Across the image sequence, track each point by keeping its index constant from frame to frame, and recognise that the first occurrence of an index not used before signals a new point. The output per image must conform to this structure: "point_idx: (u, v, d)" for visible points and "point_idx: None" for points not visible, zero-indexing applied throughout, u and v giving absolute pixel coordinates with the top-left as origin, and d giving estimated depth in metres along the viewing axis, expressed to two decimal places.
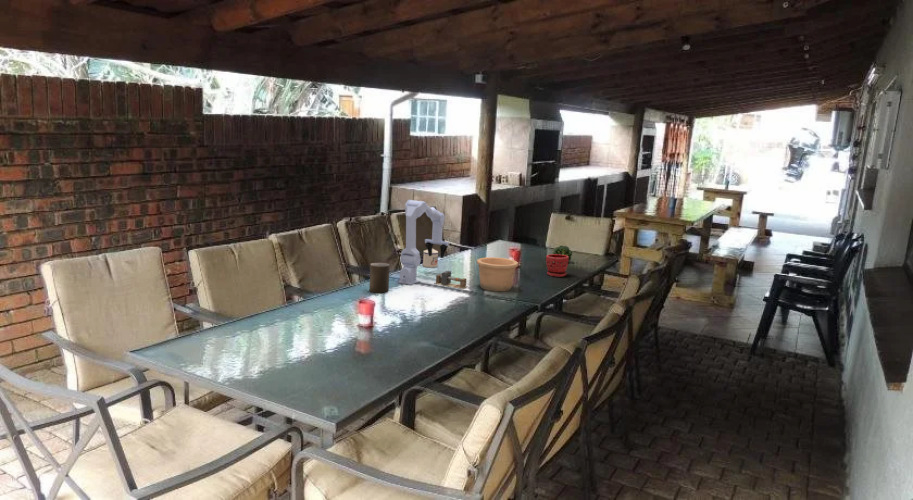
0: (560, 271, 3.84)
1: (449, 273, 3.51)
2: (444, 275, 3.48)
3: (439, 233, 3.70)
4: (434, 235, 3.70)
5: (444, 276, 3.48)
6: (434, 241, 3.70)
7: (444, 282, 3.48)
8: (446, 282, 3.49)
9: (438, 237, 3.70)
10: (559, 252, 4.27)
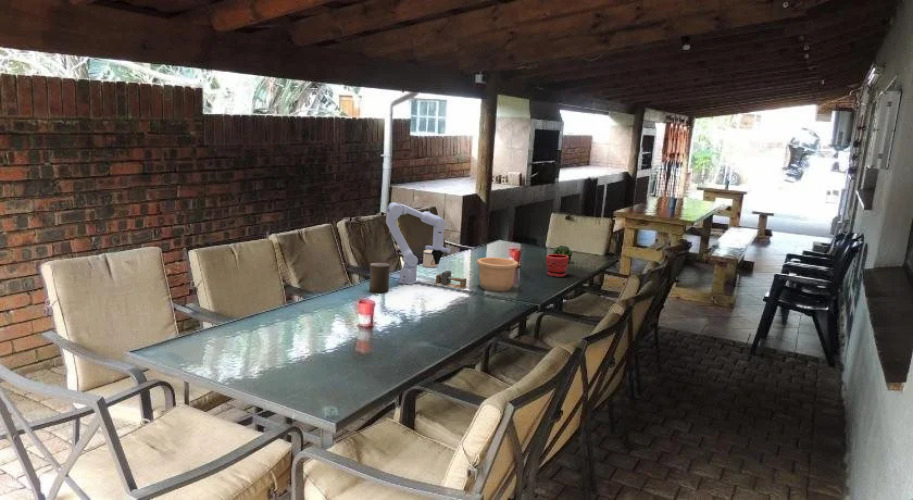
0: (560, 271, 3.84)
1: (449, 273, 3.51)
2: (444, 275, 3.48)
3: (436, 239, 3.50)
4: (435, 241, 3.51)
5: (444, 276, 3.48)
6: (435, 248, 3.51)
7: (444, 282, 3.48)
8: (446, 282, 3.49)
9: (439, 243, 3.50)
10: (559, 252, 4.26)
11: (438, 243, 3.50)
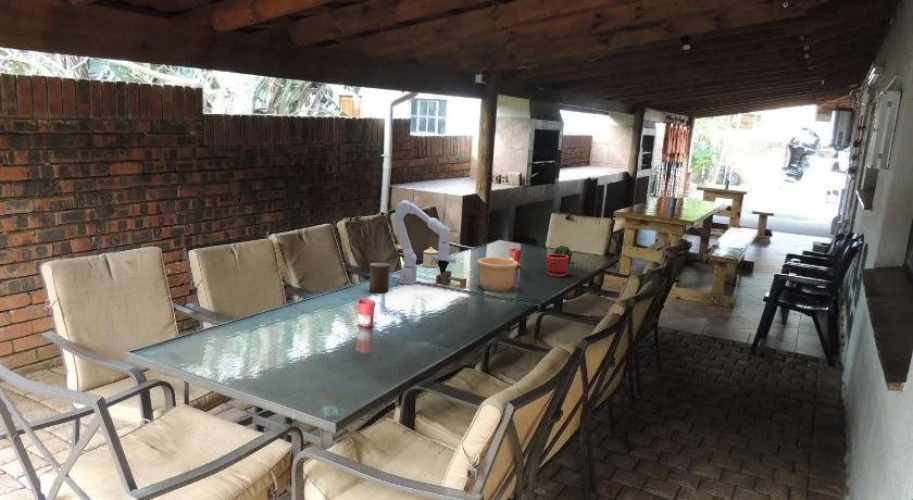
0: (560, 271, 3.84)
1: (449, 273, 3.51)
2: (444, 275, 3.48)
3: (440, 249, 3.47)
4: (440, 252, 3.47)
5: (444, 276, 3.48)
6: (440, 258, 3.48)
7: (444, 282, 3.48)
8: (446, 282, 3.49)
9: (445, 254, 3.47)
10: (559, 252, 4.26)
11: (444, 253, 3.47)
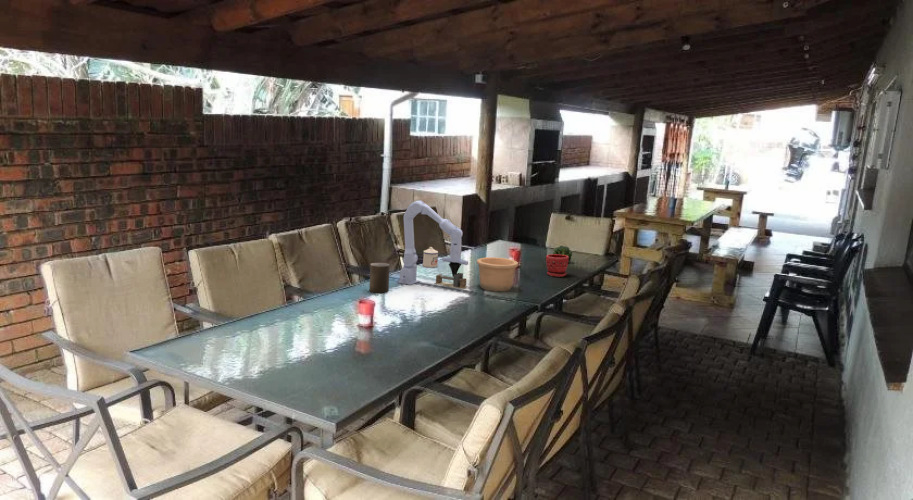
0: (560, 271, 3.84)
1: (461, 275, 3.48)
2: (456, 277, 3.44)
3: (452, 251, 3.44)
4: (452, 253, 3.44)
5: (456, 278, 3.45)
6: (452, 260, 3.44)
7: (456, 284, 3.45)
8: (458, 284, 3.46)
9: (457, 256, 3.44)
10: (559, 252, 4.26)
11: (456, 255, 3.44)
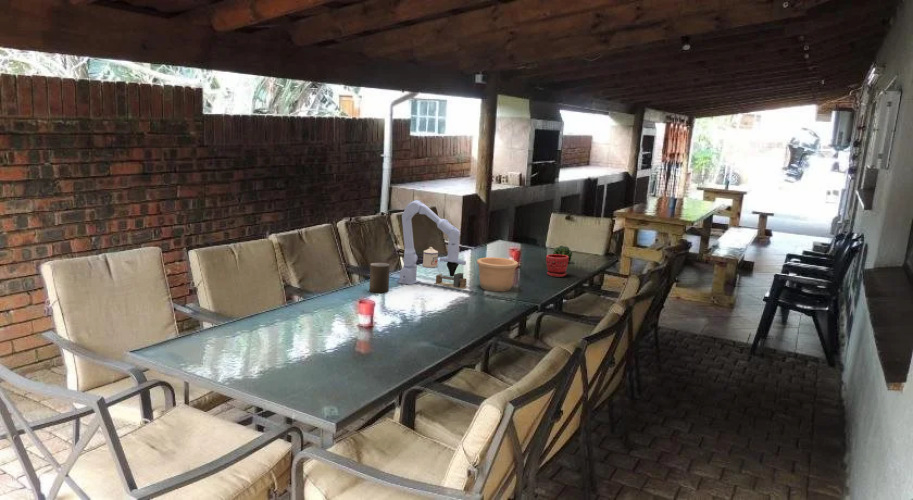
0: (560, 271, 3.84)
1: (461, 275, 3.48)
2: (456, 277, 3.44)
3: (449, 251, 3.45)
4: (450, 253, 3.45)
5: (456, 278, 3.44)
6: (450, 260, 3.45)
7: (456, 284, 3.45)
8: (458, 284, 3.46)
9: (454, 255, 3.44)
10: (559, 252, 4.25)
11: (453, 255, 3.44)
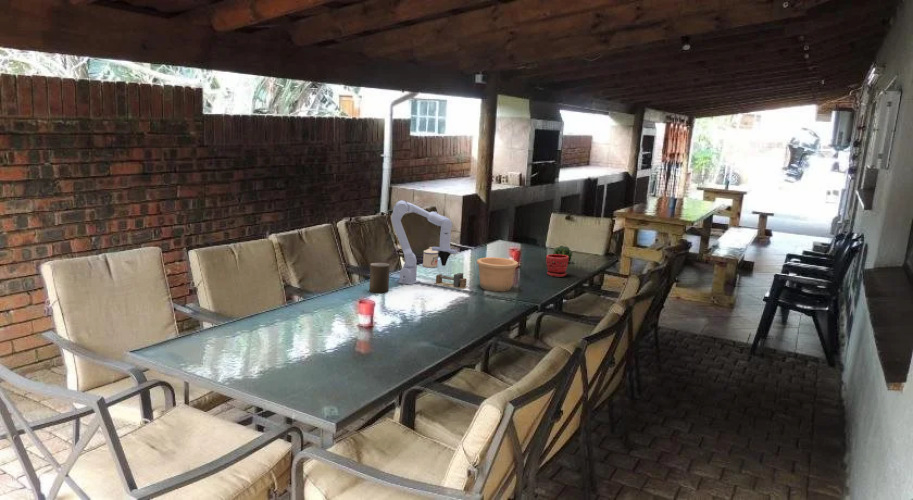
0: (560, 271, 3.84)
1: (461, 275, 3.48)
2: (456, 277, 3.44)
3: (442, 240, 3.48)
4: (442, 242, 3.48)
5: (456, 278, 3.44)
6: (442, 249, 3.49)
7: (456, 284, 3.45)
8: (458, 284, 3.46)
9: (446, 245, 3.48)
10: (559, 252, 4.25)
11: (445, 244, 3.48)
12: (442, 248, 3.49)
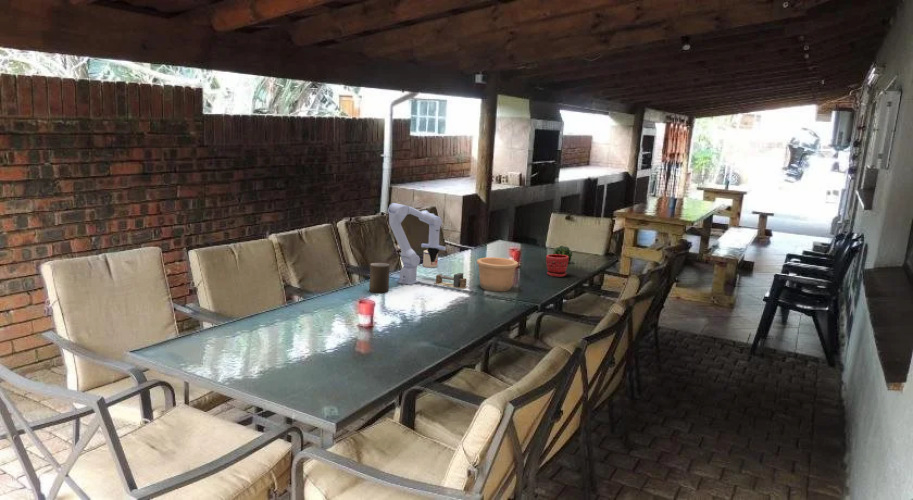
0: (560, 271, 3.84)
1: (461, 275, 3.48)
2: (456, 277, 3.44)
3: (434, 237, 3.55)
4: (431, 239, 3.56)
5: (456, 278, 3.44)
6: (431, 245, 3.56)
7: (456, 284, 3.45)
8: (458, 284, 3.46)
9: (435, 241, 3.56)
10: (559, 252, 4.25)
11: (434, 241, 3.56)
12: (431, 245, 3.56)
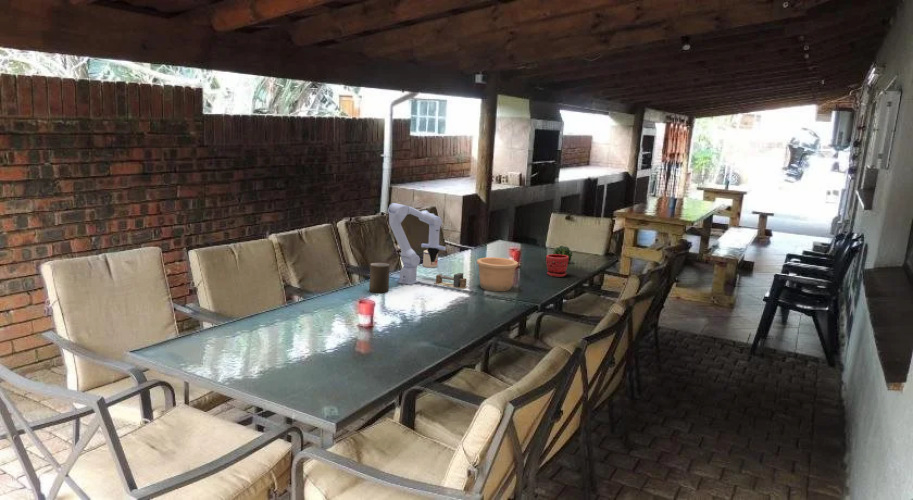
0: (560, 271, 3.84)
1: (461, 275, 3.48)
2: (456, 277, 3.44)
3: (434, 237, 3.55)
4: (431, 239, 3.56)
5: (456, 278, 3.44)
6: (431, 245, 3.56)
7: (456, 284, 3.45)
8: (458, 284, 3.46)
9: (435, 241, 3.56)
10: (559, 252, 4.25)
11: (434, 241, 3.56)
12: (431, 245, 3.56)
